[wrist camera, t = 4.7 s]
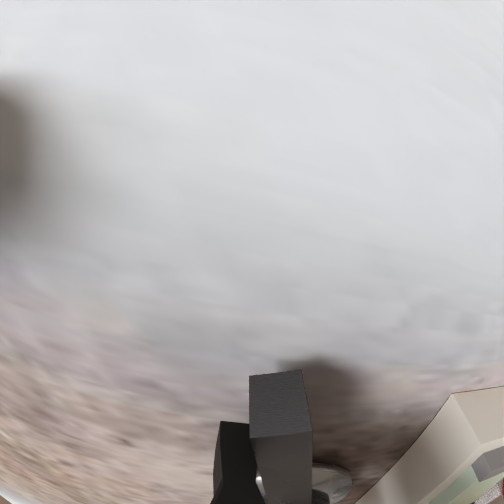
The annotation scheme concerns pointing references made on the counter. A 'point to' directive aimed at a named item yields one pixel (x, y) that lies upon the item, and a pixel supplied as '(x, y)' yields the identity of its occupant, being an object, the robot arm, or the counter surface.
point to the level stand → (450, 455)
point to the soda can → (501, 487)
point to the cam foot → (289, 444)
